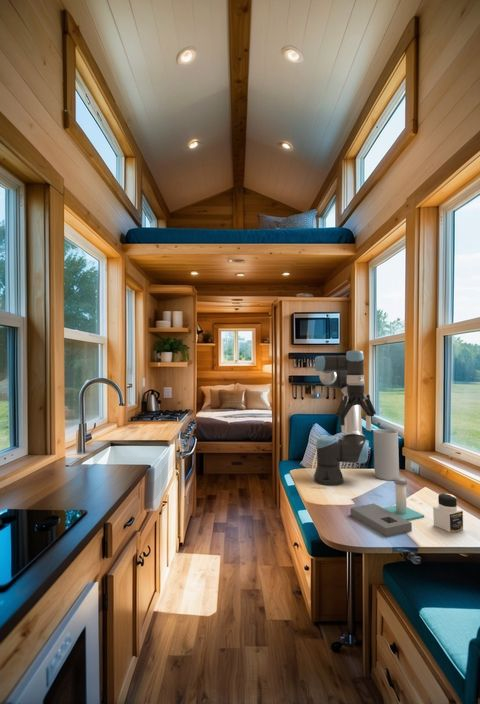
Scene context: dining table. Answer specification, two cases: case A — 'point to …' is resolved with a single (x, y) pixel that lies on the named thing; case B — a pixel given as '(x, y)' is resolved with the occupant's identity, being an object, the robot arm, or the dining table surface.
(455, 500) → the medicine bottle
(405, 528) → the grey socket plate
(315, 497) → the dining table surface
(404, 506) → the plug
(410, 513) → the mat
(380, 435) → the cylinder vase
